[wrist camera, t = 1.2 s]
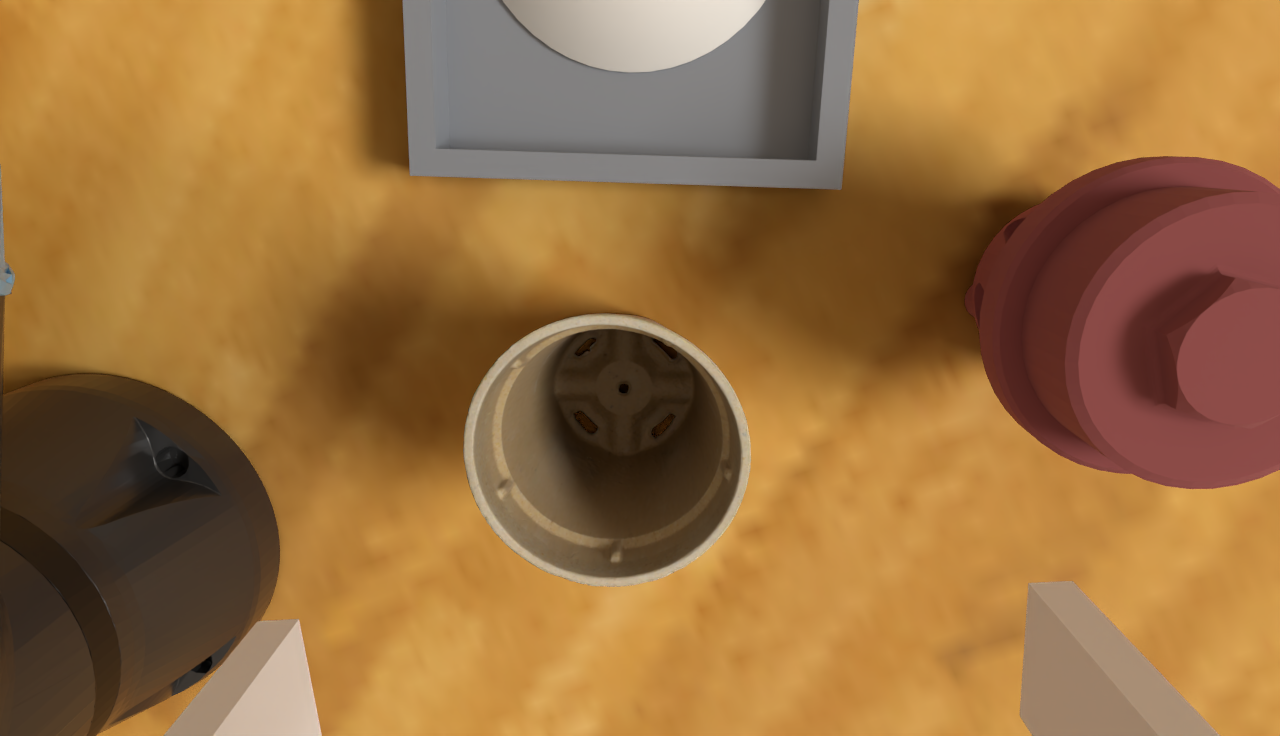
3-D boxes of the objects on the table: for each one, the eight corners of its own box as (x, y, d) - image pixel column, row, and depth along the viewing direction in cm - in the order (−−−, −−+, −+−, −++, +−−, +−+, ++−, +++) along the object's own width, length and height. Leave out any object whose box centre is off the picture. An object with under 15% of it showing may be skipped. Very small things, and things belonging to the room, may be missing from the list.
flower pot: (483, 440, 36) (425, 528, 28) (557, 239, 34) (518, 269, 25) (682, 517, 37) (683, 626, 28) (769, 325, 34) (798, 382, 26)
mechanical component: (1188, 367, 34) (944, 426, 35) (1159, 123, 32) (898, 194, 33) (1464, 486, 22) (1081, 569, 23) (1449, 108, 20) (1024, 221, 21)
